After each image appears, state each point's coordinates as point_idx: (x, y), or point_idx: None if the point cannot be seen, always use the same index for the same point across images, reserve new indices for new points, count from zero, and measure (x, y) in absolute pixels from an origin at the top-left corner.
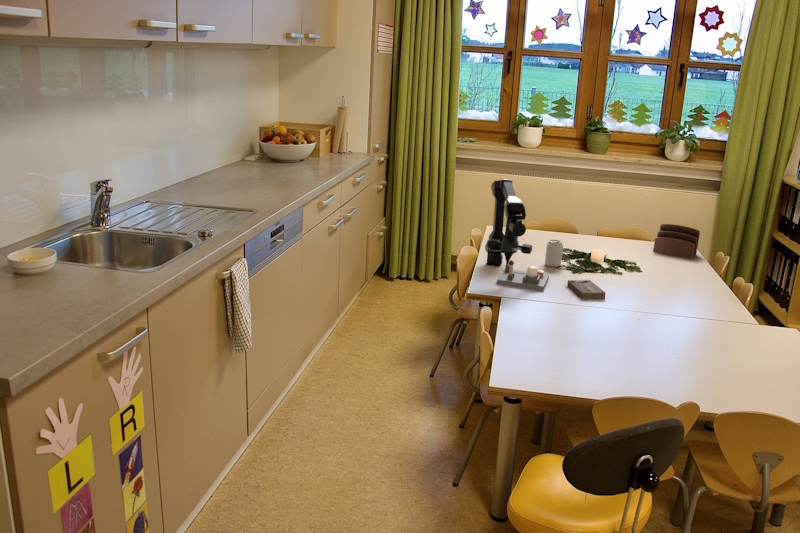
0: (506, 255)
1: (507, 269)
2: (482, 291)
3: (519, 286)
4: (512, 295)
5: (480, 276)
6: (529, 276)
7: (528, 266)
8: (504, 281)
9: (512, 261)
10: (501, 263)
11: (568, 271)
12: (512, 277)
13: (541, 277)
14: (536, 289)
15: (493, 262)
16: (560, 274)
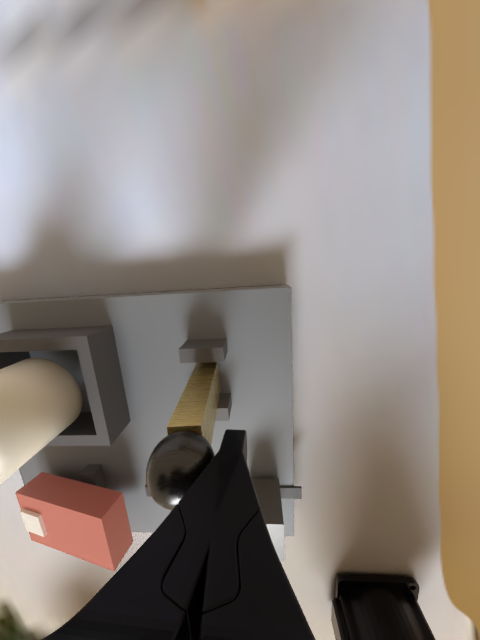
0: (240, 575)
1: (263, 492)
2: (354, 36)
3: (134, 293)
4: (121, 86)
5: (418, 383)
6: (38, 362)
7: (7, 467)
8: (233, 290)
9: (153, 477)
10: (333, 610)
11: (32, 621)
12: (183, 345)
13: (51, 468)
14: (33, 299)
15: (381, 604)
16: (42, 578)
